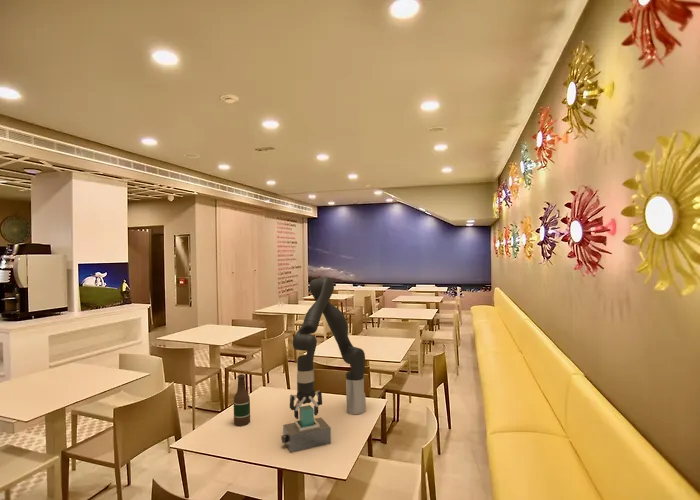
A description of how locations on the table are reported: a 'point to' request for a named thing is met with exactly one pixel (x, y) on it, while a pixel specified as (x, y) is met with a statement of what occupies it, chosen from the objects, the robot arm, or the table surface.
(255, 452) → the table surface
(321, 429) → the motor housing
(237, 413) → the beer bottle
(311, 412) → the block
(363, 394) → the robot arm
